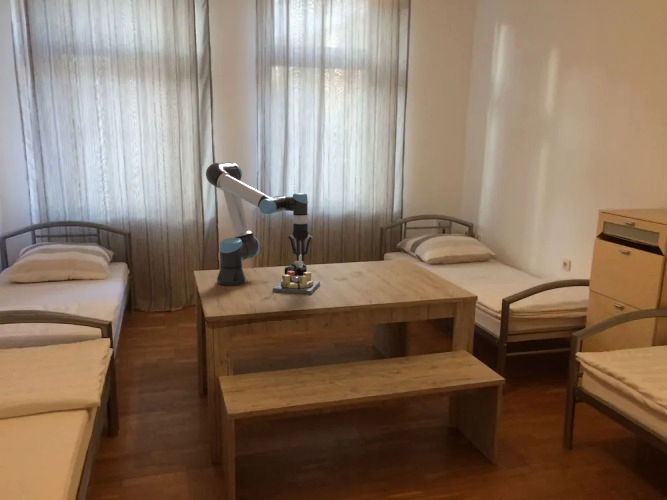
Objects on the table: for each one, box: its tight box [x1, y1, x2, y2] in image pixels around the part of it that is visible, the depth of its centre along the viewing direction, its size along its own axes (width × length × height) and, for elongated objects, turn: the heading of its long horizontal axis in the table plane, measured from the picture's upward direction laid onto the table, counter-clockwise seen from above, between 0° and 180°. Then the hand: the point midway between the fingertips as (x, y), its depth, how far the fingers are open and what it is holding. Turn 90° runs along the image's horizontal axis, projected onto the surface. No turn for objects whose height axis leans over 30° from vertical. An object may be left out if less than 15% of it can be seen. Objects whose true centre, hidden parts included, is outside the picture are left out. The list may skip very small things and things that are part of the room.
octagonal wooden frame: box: [280, 271, 314, 288], centre depth 300 cm, size 16×16×6 cm
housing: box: [272, 276, 321, 295], centre depth 300 cm, size 20×20×6 cm
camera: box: [283, 260, 308, 276], centre depth 321 cm, size 16×10×10 cm, turn 27°
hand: (300, 267), depth 305 cm, fingers closed
